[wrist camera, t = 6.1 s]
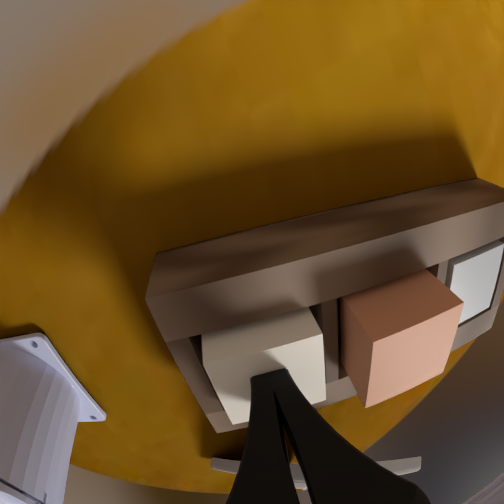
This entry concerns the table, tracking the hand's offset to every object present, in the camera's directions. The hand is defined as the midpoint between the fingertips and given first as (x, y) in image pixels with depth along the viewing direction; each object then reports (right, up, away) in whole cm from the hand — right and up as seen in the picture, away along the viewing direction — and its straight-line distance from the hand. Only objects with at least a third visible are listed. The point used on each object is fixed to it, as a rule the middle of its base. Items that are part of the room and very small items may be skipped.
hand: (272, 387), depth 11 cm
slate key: (+10, +5, +4) cm, 12 cm away
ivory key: (-1, +1, +3) cm, 3 cm away
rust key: (+5, +2, +2) cm, 6 cm away
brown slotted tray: (+5, +3, +4) cm, 7 cm away
